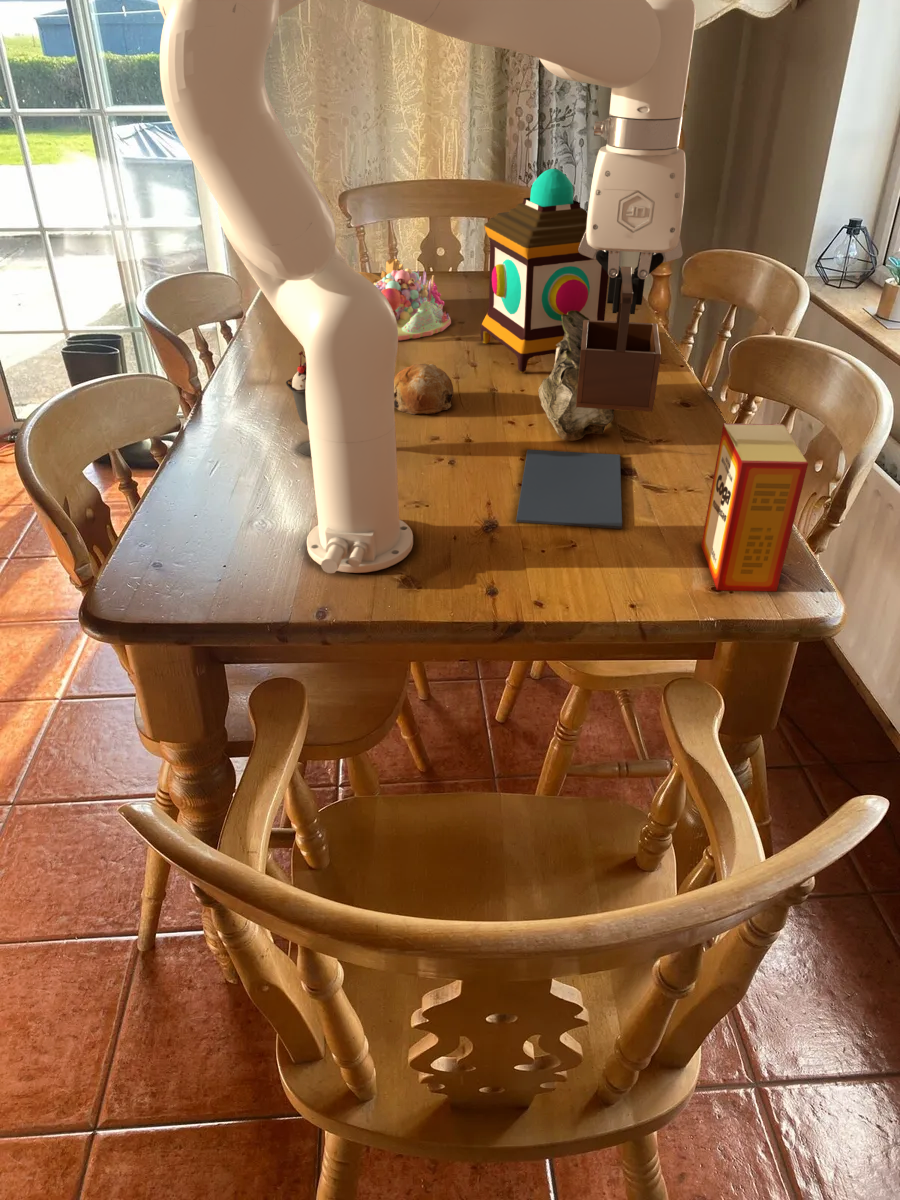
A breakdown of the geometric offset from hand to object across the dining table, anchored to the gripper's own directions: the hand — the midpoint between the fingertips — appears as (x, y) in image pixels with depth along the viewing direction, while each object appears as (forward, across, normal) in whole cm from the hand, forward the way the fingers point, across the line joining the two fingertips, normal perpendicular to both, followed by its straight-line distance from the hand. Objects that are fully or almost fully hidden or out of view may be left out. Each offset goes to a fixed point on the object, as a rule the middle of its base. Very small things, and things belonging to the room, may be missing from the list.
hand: (623, 309), depth 106 cm
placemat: (+24, -4, 0) cm, 24 cm away
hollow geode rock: (+24, -3, +26) cm, 36 cm away
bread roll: (+24, -29, +25) cm, 45 cm away
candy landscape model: (+24, -41, +66) cm, 81 cm away
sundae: (+24, -41, +7) cm, 48 cm away
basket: (+10, 0, 0) cm, 10 cm away
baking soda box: (+24, +16, -17) cm, 33 cm away
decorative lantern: (+24, -11, +51) cm, 58 cm away
